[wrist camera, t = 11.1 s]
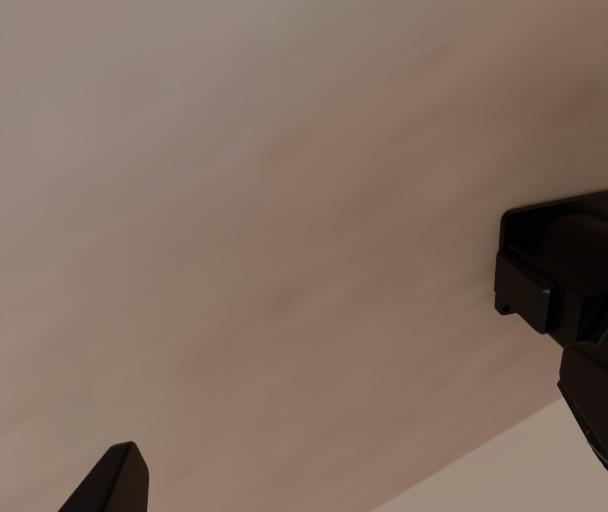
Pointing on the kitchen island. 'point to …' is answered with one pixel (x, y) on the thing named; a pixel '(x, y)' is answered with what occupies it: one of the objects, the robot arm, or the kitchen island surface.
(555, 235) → the robot arm
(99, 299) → the kitchen island surface
